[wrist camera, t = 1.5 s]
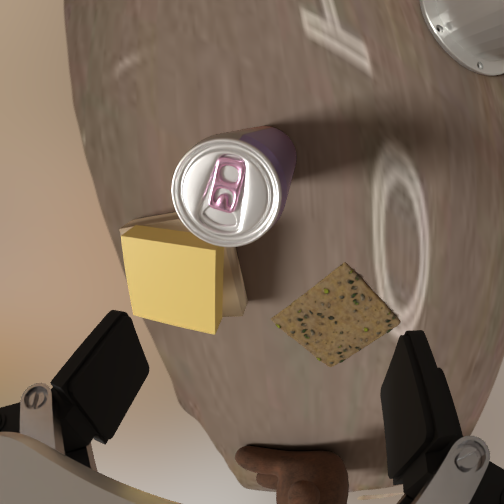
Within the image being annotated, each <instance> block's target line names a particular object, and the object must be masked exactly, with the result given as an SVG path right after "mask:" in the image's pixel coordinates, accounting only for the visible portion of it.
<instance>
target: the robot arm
mask: <svg viewBox="0 0 504 504" xmlns="http://www.w3.org/2000/svg"><path fill="white" fill-rule="evenodd" d="M420 6H421V11H422V14H423V17H424V20H425V22H426V24H427V26H428V28H429V30H430V31H431V33H432V34H433V36H434V38H435V39H436V40H437V42H438V43H439V44H440V45H441V47H442V48H443V49H444V50H445V51H446V52H447V53H448V54H449V55H450V56H451V57H452V58H453V59H454V60H456V61H457V62H458V63H459V64H461V65H462V66H464V67H465V68H467V69H469V70H470V71H473V72H475V73H477V74H481V75H486V76H495V75H500V74H503V73H504V0H420ZM148 373H149V365H148V362H147V360H146V357H145V355H144V352H143V349H142V347H141V344H140V342H139V339H138V336H137V334H136V331H135V328H134V325H133V322H132V319H131V318H130V317H129V316H128V314H127V313H126V312H122V311H116V310H111V311H110V312H109V313H108V314H107V315H106V316H105V317H104V318H103V320H102V321H101V322H100V323H99V324H98V325H97V326H96V328H95V329H94V330H93V331H92V332H91V334H90V335H89V336H88V337H87V338H86V339H85V340H84V342H83V343H82V344H81V345H80V346H79V348H78V349H77V350H76V351H75V352H74V354H73V355H72V356H71V357H70V359H69V360H68V361H67V362H66V364H65V365H64V366H63V367H62V368H61V370H60V371H59V372H58V373H57V375H56V376H55V377H54V378H53V380H52V381H51V385H52V386H53V388H52V389H50V388H49V386H48V385H46V384H43V383H36V384H34V385H31V386H30V387H28V388H27V389H26V390H25V391H24V393H23V395H22V397H21V402H19V403H16V404H12V405H9V406H5V407H1V408H0V504H181V503H177V502H174V501H170V500H167V499H164V498H161V497H158V496H155V495H152V494H149V493H146V492H144V491H141V490H138V489H136V488H133V487H131V486H128V485H126V484H123V483H121V482H118V481H116V480H114V479H112V478H109V477H107V476H105V475H103V474H101V473H99V472H97V468H96V464H95V460H94V455H93V451H92V446H91V440H92V439H93V438H94V439H95V440H97V441H99V442H101V443H103V444H106V443H107V441H108V439H111V438H112V437H113V436H114V434H115V432H116V431H117V429H118V427H119V425H120V423H121V422H122V420H123V418H124V416H125V414H126V413H127V411H128V409H129V407H130V405H131V404H132V402H133V400H134V398H135V397H136V395H137V393H138V391H139V390H140V388H141V386H142V384H143V383H144V381H145V379H146V377H147V375H148ZM381 403H382V411H383V419H384V428H385V439H386V450H387V464H388V476H389V478H390V479H392V478H393V485H398V484H403V489H404V493H405V494H404V495H403V496H402V498H401V499H400V500H399V501H398V503H397V504H504V469H502V468H500V467H499V466H497V465H495V464H494V463H492V462H490V461H489V460H490V452H489V449H488V446H487V445H486V443H485V442H484V441H483V440H482V439H480V438H478V437H475V436H465V437H463V435H462V431H461V427H460V424H459V420H458V416H457V413H456V409H455V406H454V403H453V399H452V396H451V393H450V390H449V387H448V384H447V381H446V378H445V375H444V373H443V371H442V369H441V368H437V365H436V362H435V360H434V357H433V354H432V351H431V349H430V346H429V343H428V341H427V338H426V336H425V333H424V331H422V330H417V331H406V332H405V334H404V335H401V336H400V337H399V340H398V343H397V346H396V349H395V352H394V355H393V358H392V360H391V363H390V366H389V369H388V371H387V374H386V377H385V379H384V382H383V384H382V387H381Z"/></svg>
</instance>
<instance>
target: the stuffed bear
mask: <svg viewBox="0 0 504 504" xmlns="http://www.w3.org/2000/svg"><path fill="white" fill-rule="evenodd" d="M235 460H236V462H237V463H238V464H239V465H240V466H241V467H243V468H245V469H247V470H249V471H252V472H255V473H258V474H257V477H256V480H257V482H258V483H259V484H260V485H261V486H263V487H266V488H270V489H276V490H277V493H276V494H277V495H276V496H277V497H276V501H277V504H347V498H348V489H349V482H348V473H347V470H346V467H345V464H344V462H343V460H342V459H341V458H340V457H339V456H338V455H337V454H335V453H333V452H328V451H284V450H276V449H269V448H263V447H256V446H244V447H242V448H240V449H239V450H238V451H237V453H236V455H235Z"/></svg>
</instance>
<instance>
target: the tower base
mask: <svg viewBox="0 0 504 504" xmlns="http://www.w3.org/2000/svg"><path fill="white" fill-rule="evenodd" d="M135 225H140V226H147V227H155V228H162V229H170V230H177V231H184V232H190V231H189V230H188V229H187V228H186V226H185V225H184V224H183V223H182V221H181V220H180V218H179V216H178V214H177V212H173V213H167V214H161V215H156V216H150V217H145V218H139V219H134V220H131V221H130V222H129V223H127V224H126V225H124V226H123V227H121V228H120V229H119V230H120V233H121V235H123V234H124V233H125V232H127V231H128V230H129V229H131V228H132V227H134V226H135ZM247 302H248V299H247V295H246V290H245V286H244V282H243V277H242V273H241V269H240V264H239V260H238V255H237V251H236V247H224V268H223V308H222V317H231V316H243V314H244V311H245V308H246V305H247Z"/></svg>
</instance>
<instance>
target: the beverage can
mask: <svg viewBox="0 0 504 504" xmlns="http://www.w3.org/2000/svg"><path fill="white" fill-rule="evenodd" d="M296 159H297V156H296V150H295V147H294V144H293V142H292V141H291V139H290V138H289V137H288V136H287V135H286V134H285V133H284V132H282V131H281V130H279V129H276V128H274V127H269V126H260V127H253V128H247V129H242V130H236V131H231V132H226V133H220V134H216V135H212V136H210V137H207V138H205V139H203V140H201V141H200V142H198V143H197V144H196V145H195V146H193V147H192V148H191V149H190V150H189V151H188V152H187V153H186V154H185V155H184V156H183V158H182V159H181V160H180V162H179V164H178V165H177V167H176V170H175V172H174V176H173V180H172V199H173V204H174V207H175V210H176V212H177V214H178V216H179V218H180V220H181V221H182V223H183V224H184V225H185V226H186V228H187V229H188V230H189V231H190V232H191V233H193V234H194V235H195V236H197V237H198V238H200V239H201V240H203V241H205V242H207V243H210V244H213V245H216V246H221V247H238V246H243V245H247V244H249V243H252V242H254V241H256V240H257V239H259V238H260V237H262V236H263V235H264V234H265V233H266V232H267V231H268V230H270V229H271V228H272V227H273V226H274V225H275V223H276V222H277V221H278V219H279V218H280V216H281V214H282V212H283V209H284V207H285V203H286V199H287V196H288V192H289V188H290V184H291V181H292V177H293V173H294V169H295V165H296Z"/></svg>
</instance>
